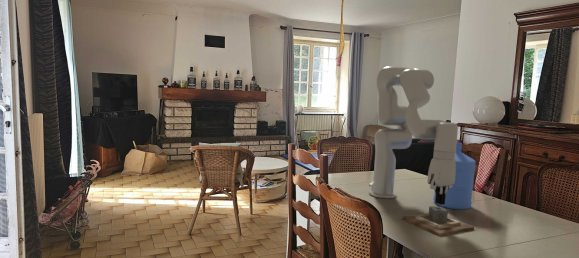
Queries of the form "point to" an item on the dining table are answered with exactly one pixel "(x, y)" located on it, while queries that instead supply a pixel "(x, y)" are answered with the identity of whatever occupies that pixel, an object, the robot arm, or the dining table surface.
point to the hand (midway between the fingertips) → (439, 203)
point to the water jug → (461, 182)
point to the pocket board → (438, 229)
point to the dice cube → (438, 215)
